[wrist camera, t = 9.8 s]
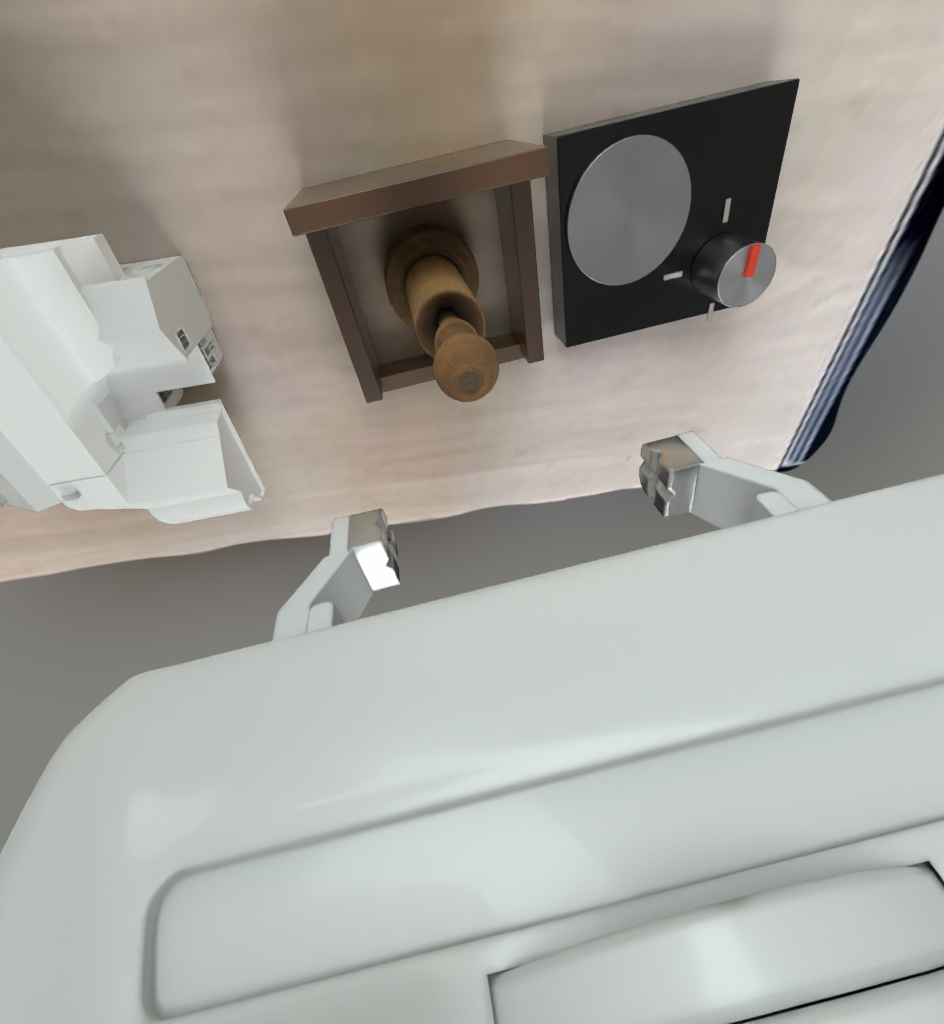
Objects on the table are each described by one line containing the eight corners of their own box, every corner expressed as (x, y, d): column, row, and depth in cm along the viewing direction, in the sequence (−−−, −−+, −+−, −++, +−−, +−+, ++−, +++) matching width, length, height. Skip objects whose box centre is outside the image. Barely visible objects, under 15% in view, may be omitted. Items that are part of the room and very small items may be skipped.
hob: (555, 341, 39) (567, 356, 37) (542, 135, 30) (557, 136, 28) (736, 297, 39) (760, 309, 37) (777, 78, 30) (812, 75, 28)
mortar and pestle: (466, 327, 37) (523, 449, 23) (382, 318, 35) (392, 443, 22) (480, 230, 33) (560, 311, 19) (386, 216, 31) (401, 292, 18)
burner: (568, 296, 34) (569, 297, 33) (562, 152, 28) (564, 152, 28) (680, 268, 34) (683, 270, 34) (696, 119, 28) (700, 119, 28)
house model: (-172, 266, 28) (-365, 319, 21) (165, 216, 29) (97, 249, 22) (46, 504, 41) (-26, 591, 33) (278, 462, 42) (258, 537, 34)
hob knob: (737, 288, 35) (769, 303, 33) (686, 298, 35) (714, 314, 32) (751, 228, 33) (787, 238, 30) (696, 238, 33) (728, 249, 30)
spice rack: (369, 382, 38) (369, 438, 32) (302, 188, 30) (282, 209, 23) (527, 343, 39) (561, 391, 32) (507, 139, 30) (548, 146, 23)
